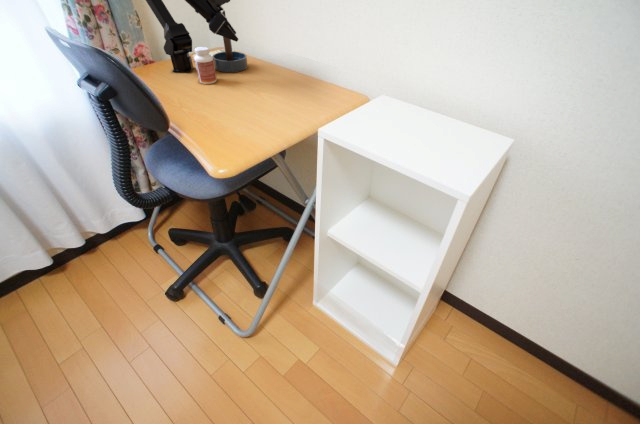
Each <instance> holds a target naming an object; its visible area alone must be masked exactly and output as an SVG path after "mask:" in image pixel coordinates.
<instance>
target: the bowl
mask: <svg viewBox="0 0 640 424" xmlns="http://www.w3.org/2000/svg"><path fill="white" fill-rule="evenodd" d="M232 52H233V59H234V61H226V54H225V51H220V52H216V53H214V54H212V55H211V56H212V58H213V63H214V69H215V70H217V71H219V72H222V73H229V74H230V73H231V74H232V73H239V72H243V71H244V70H246V69H247V68H248V65H249V64H248V58H247V54H246V53H244V52H240V51H233V50H232Z"/></svg>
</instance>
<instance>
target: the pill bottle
mask: <svg viewBox="0 0 640 424" xmlns="http://www.w3.org/2000/svg"><path fill="white" fill-rule="evenodd" d="M194 53H195V56H194V63H195V70H196V74H197V78H198V82H199V83H200V84H204V85H211V84H214V83H216V82H217V76H216V69H215V68H214V63H213V58H212V56H213V55H211V54H210V49H209V47H206V46H197V47H195V48H194Z"/></svg>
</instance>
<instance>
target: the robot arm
mask: <svg viewBox="0 0 640 424" xmlns="http://www.w3.org/2000/svg"><path fill="white" fill-rule="evenodd" d="M145 1H146V3H147V5H148V6H149V8H150V10H151V11H152V13H153V14H154V16H155V17H156V19H157V21H158V23H159V24H160V25H161V27H162V29H163V38H164V41H165V42H164V44H163V50H164V53H165V55H168V56H169V57H170V60H171V61H170V62H171V64H172V73H191V71H192V70H193V69H194V64H193V59H192V56H191V55H190V53H192V52H193V38H192V37H191V35H190V32H189V31H188V30H187V28H186V25H185V24H184V23H183V22H180V23H178V22H176V21H175V19H174V17H173V16H172V14H171V12H170V11H169V9H168V7H167V6H166V4H165V3H164V1H163V0H145ZM184 1H185V2H186V3H187V4H188V5H189V6H190V8H191V7H192V8H193V10H194V12H195V13H196V14H199V15H200V16H201V17H202V18H203V19H204V20H205V22H206V23H207V24H208V29H209V31H211V33H213V34H214V35H215V34H216V36H217V35H218V36H221V37H222V38H223V37H226V38H228V39H231V41H234V42H236V43H237V42H238V41H239V37H238V36H237V32H236V29H234V27H233V26H232V24H231V23H230V21H229V19H228V17H226V11H225V9H224V7H223V5H225V4H228V3H230V2H231V0H184Z"/></svg>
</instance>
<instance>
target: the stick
mask: <svg viewBox="0 0 640 424" xmlns="http://www.w3.org/2000/svg"><path fill="white" fill-rule="evenodd" d="M222 39H223V40H222V41H223V46H224V52H225V54H226V61H234V59H233V52H232V51H233V45H232V40H231V39H228V38H226V37H223V36H222Z"/></svg>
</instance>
